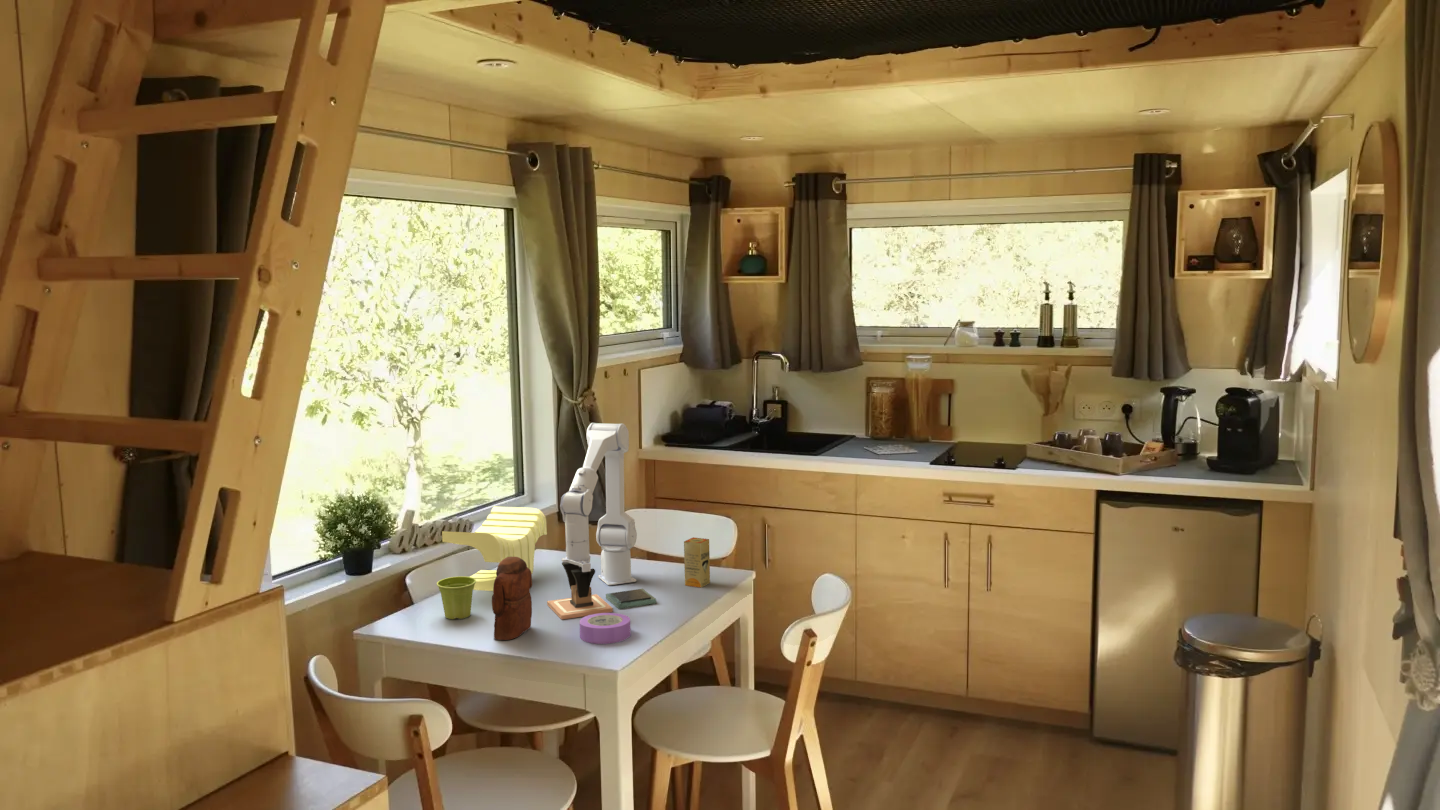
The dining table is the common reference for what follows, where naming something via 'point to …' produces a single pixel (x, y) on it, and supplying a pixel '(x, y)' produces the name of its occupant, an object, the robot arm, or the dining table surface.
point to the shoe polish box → (697, 562)
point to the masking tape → (605, 628)
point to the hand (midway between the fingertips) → (579, 593)
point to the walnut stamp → (578, 601)
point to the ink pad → (630, 598)
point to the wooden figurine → (512, 599)
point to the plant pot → (457, 596)
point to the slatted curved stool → (503, 539)
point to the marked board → (569, 611)
